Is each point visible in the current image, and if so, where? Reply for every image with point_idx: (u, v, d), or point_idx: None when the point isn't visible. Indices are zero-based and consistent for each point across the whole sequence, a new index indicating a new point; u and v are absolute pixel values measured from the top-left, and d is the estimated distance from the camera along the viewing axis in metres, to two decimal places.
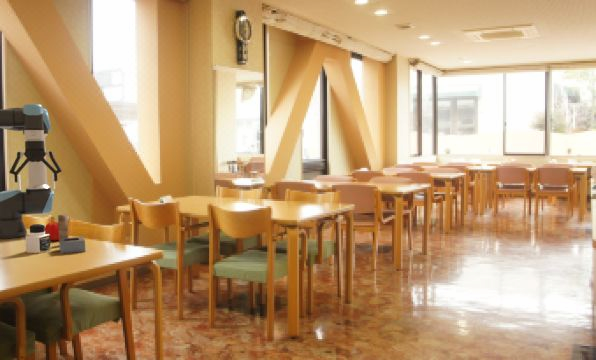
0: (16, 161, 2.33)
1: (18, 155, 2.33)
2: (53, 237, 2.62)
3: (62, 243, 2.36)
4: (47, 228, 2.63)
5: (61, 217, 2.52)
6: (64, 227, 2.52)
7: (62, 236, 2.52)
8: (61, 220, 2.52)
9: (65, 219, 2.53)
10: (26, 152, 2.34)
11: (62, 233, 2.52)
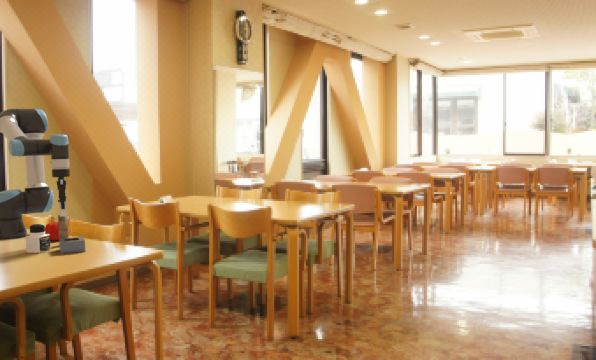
0: None
1: (58, 181, 2.57)
2: (53, 237, 2.62)
3: (62, 243, 2.36)
4: (47, 228, 2.63)
5: (61, 217, 2.52)
6: (64, 227, 2.52)
7: (62, 236, 2.52)
8: (61, 220, 2.52)
9: (65, 219, 2.53)
10: (58, 179, 2.54)
11: (62, 233, 2.52)
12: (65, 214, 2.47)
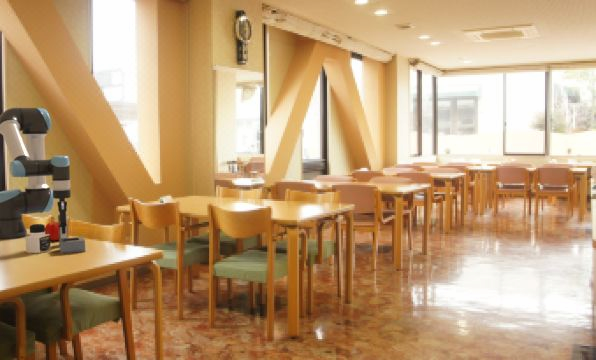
0: None
1: None
2: (53, 237, 2.62)
3: (62, 243, 2.36)
4: (47, 228, 2.63)
5: None
6: None
7: None
8: None
9: None
10: None
11: None
12: None
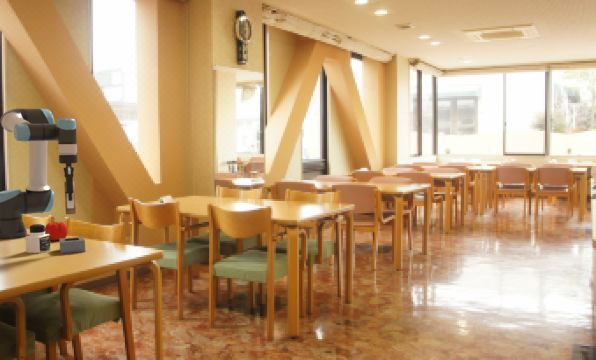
0: None
1: None
2: (53, 237, 2.62)
3: (62, 243, 2.36)
4: (47, 228, 2.63)
5: None
6: None
7: None
8: None
9: None
10: None
11: None
12: (72, 206, 2.39)
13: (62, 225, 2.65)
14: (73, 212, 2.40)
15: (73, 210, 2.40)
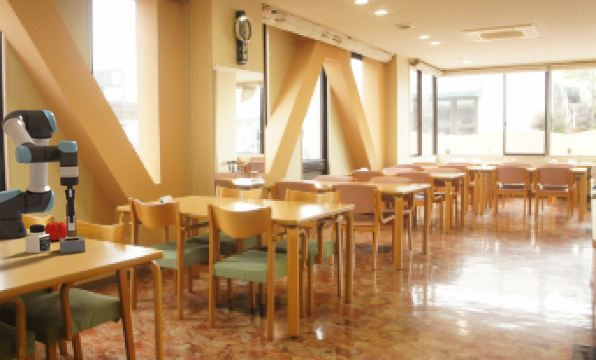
0: None
1: None
2: (53, 237, 2.62)
3: (62, 243, 2.36)
4: (47, 228, 2.63)
5: None
6: None
7: None
8: None
9: None
10: None
11: None
12: (74, 228, 2.39)
13: (62, 225, 2.65)
14: (74, 235, 2.40)
15: (74, 233, 2.40)
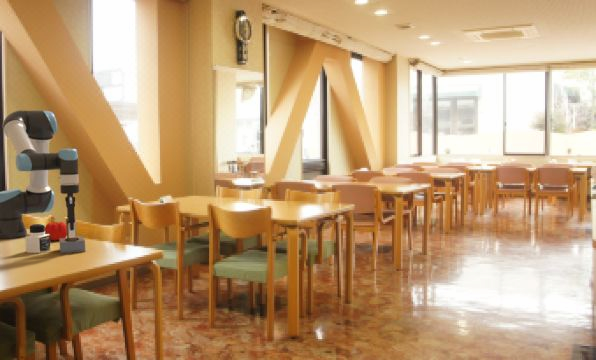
0: None
1: None
2: (53, 237, 2.62)
3: (62, 243, 2.36)
4: (47, 228, 2.63)
5: None
6: None
7: None
8: None
9: None
10: None
11: None
12: (74, 235, 2.38)
13: (62, 225, 2.65)
14: None
15: None
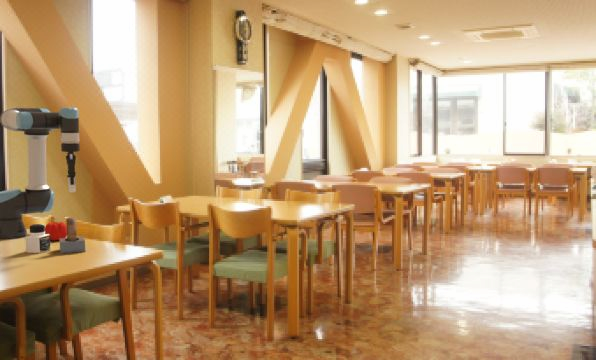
0: None
1: None
2: (53, 237, 2.62)
3: (62, 243, 2.36)
4: (47, 228, 2.63)
5: (69, 220, 2.39)
6: (72, 231, 2.40)
7: None
8: (70, 223, 2.39)
9: (74, 222, 2.40)
10: None
11: (71, 237, 2.40)
12: (74, 190, 2.39)
13: (62, 225, 2.65)
14: None
15: None
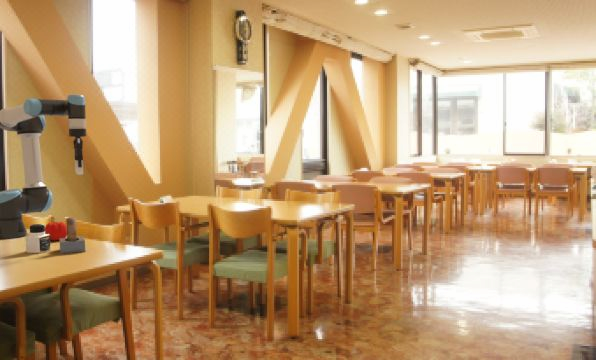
0: None
1: None
2: (53, 237, 2.62)
3: (62, 243, 2.36)
4: (47, 228, 2.63)
5: (69, 220, 2.39)
6: (72, 231, 2.40)
7: None
8: (70, 223, 2.39)
9: (74, 222, 2.40)
10: None
11: (71, 237, 2.40)
12: (82, 172, 2.52)
13: (62, 225, 2.65)
14: None
15: None
